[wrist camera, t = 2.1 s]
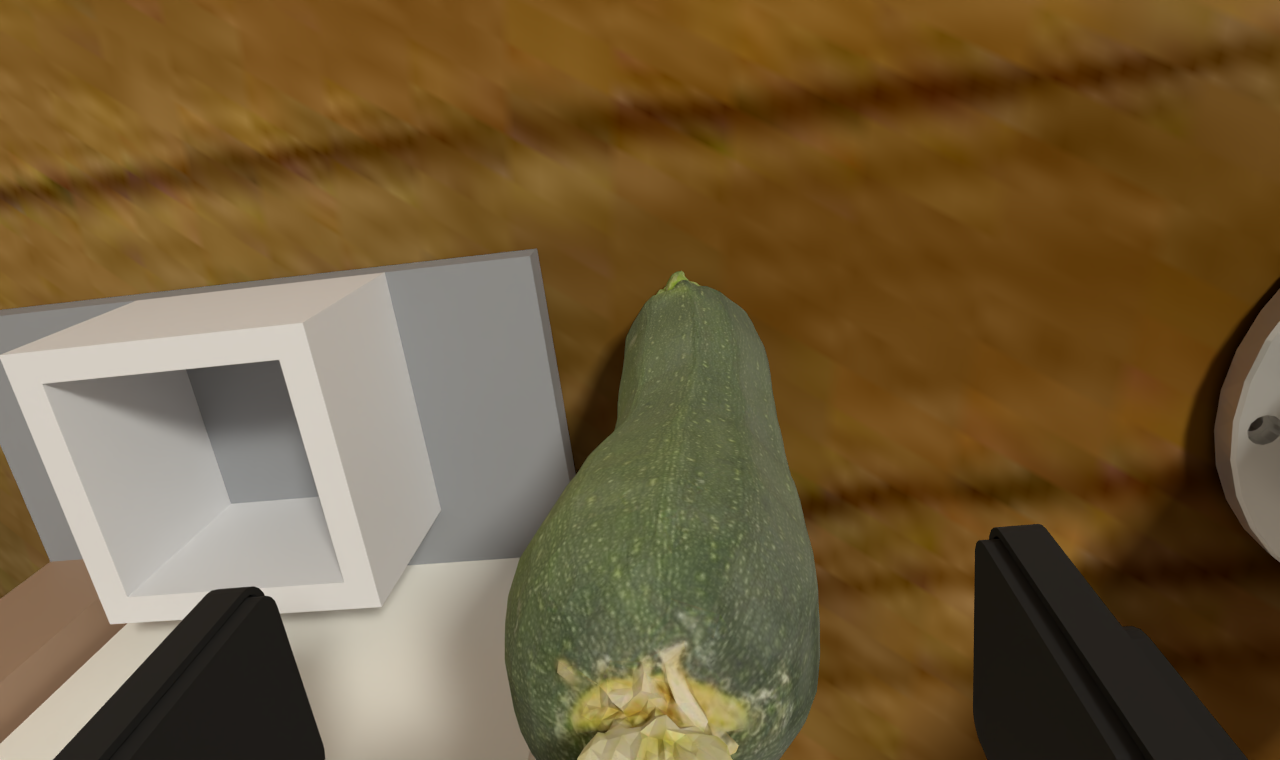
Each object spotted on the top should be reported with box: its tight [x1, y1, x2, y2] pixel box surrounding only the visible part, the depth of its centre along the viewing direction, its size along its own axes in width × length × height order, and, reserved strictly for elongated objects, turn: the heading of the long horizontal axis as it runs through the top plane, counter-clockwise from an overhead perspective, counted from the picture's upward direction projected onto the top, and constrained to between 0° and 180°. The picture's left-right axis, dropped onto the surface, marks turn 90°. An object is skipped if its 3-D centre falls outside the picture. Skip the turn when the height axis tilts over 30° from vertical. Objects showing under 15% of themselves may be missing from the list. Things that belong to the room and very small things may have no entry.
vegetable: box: [505, 271, 820, 760], centre depth 15 cm, size 4×4×20 cm
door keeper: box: [0, 249, 576, 760], centre depth 21 cm, size 18×12×13 cm, turn 97°
